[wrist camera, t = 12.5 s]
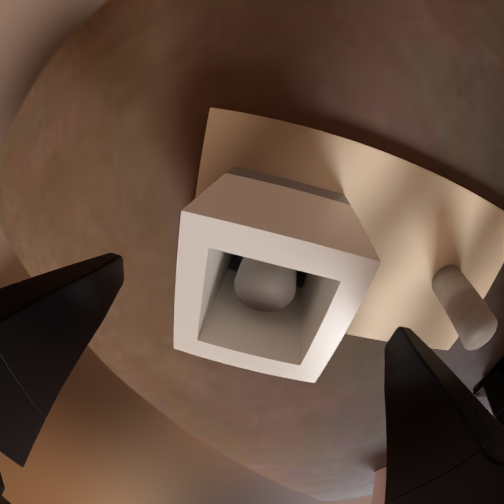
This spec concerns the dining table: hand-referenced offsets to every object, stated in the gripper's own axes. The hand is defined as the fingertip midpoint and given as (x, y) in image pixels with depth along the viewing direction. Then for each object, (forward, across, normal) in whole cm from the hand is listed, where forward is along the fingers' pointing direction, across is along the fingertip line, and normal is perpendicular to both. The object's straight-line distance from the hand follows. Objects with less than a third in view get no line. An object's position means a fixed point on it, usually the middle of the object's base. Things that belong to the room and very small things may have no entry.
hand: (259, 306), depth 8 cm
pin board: (+6, -5, 0) cm, 8 cm away
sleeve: (+6, 0, 0) cm, 6 cm away
